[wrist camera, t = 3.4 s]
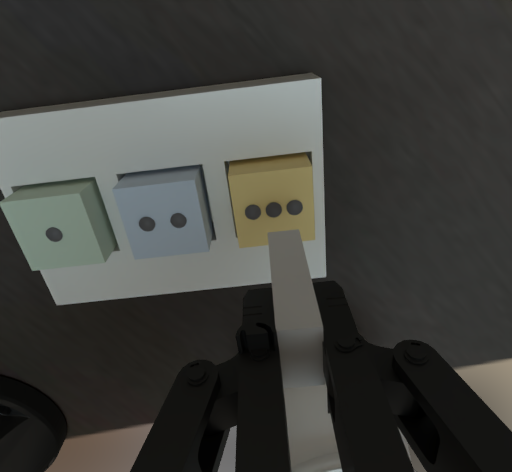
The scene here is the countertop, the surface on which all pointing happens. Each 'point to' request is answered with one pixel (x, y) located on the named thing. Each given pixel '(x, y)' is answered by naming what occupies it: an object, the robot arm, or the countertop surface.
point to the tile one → (60, 223)
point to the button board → (169, 156)
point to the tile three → (272, 197)
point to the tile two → (165, 211)
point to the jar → (312, 431)
